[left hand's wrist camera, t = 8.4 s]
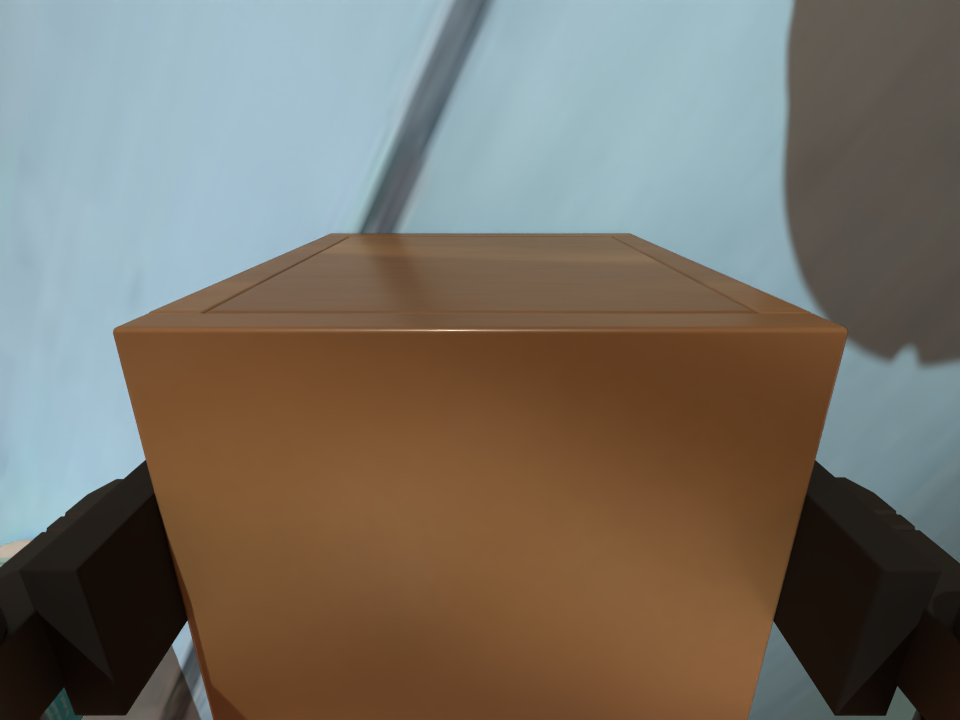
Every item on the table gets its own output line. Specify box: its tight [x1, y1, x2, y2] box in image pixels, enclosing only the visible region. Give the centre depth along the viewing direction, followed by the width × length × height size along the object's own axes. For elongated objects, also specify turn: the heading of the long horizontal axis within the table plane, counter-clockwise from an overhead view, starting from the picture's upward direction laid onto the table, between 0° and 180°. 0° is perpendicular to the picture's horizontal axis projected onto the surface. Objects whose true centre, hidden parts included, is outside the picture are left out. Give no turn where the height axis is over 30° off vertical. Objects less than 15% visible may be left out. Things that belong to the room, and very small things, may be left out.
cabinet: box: [113, 234, 848, 720], centre depth 16 cm, size 17×10×11 cm, turn 0°
